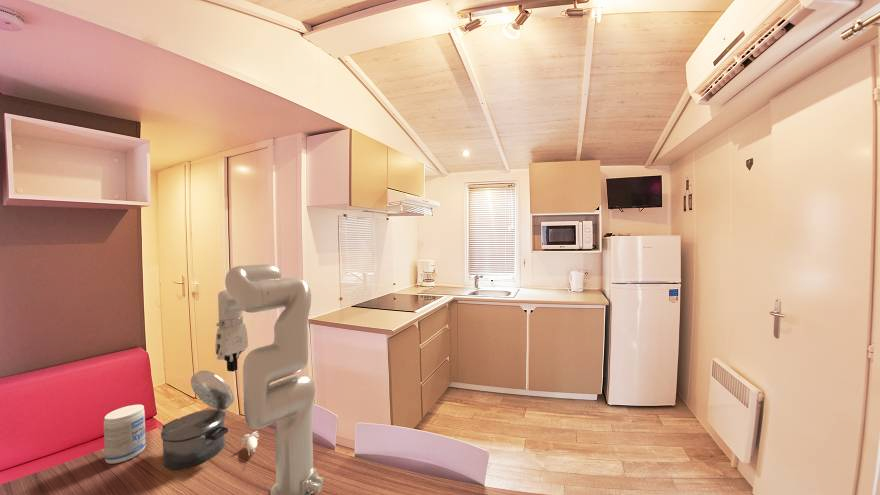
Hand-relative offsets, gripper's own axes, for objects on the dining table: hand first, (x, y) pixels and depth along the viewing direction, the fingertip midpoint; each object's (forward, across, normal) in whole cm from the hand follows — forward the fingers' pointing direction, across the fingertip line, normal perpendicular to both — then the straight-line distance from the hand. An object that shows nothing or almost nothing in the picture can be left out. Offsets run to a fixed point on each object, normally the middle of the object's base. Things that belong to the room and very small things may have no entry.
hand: (232, 370), depth 115 cm
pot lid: (+4, -8, 0) cm, 9 cm away
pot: (+22, -14, 0) cm, 26 cm away
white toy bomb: (+22, -10, -19) cm, 31 cm away
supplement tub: (+22, -21, +22) cm, 37 cm away
